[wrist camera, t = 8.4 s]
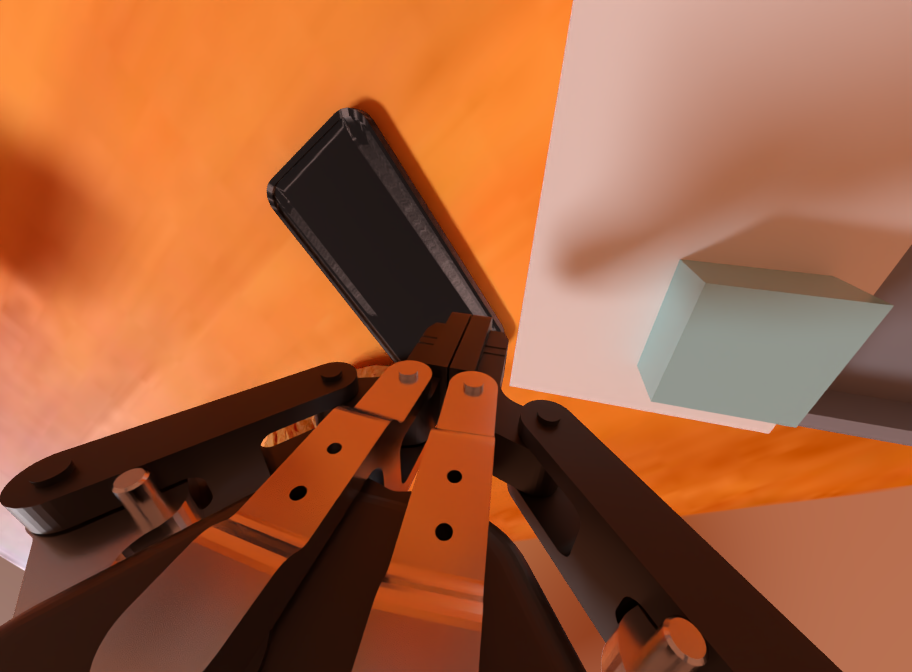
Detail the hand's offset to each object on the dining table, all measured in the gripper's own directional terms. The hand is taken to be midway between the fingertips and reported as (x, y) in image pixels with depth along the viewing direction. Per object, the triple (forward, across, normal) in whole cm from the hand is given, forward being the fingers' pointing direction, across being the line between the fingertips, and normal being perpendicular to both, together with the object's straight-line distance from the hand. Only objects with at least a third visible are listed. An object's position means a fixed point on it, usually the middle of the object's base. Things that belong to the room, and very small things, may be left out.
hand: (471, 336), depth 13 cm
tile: (+3, -10, 0) cm, 10 cm away
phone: (+8, +6, 0) cm, 10 cm away
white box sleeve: (+7, -8, -3) cm, 11 cm away
